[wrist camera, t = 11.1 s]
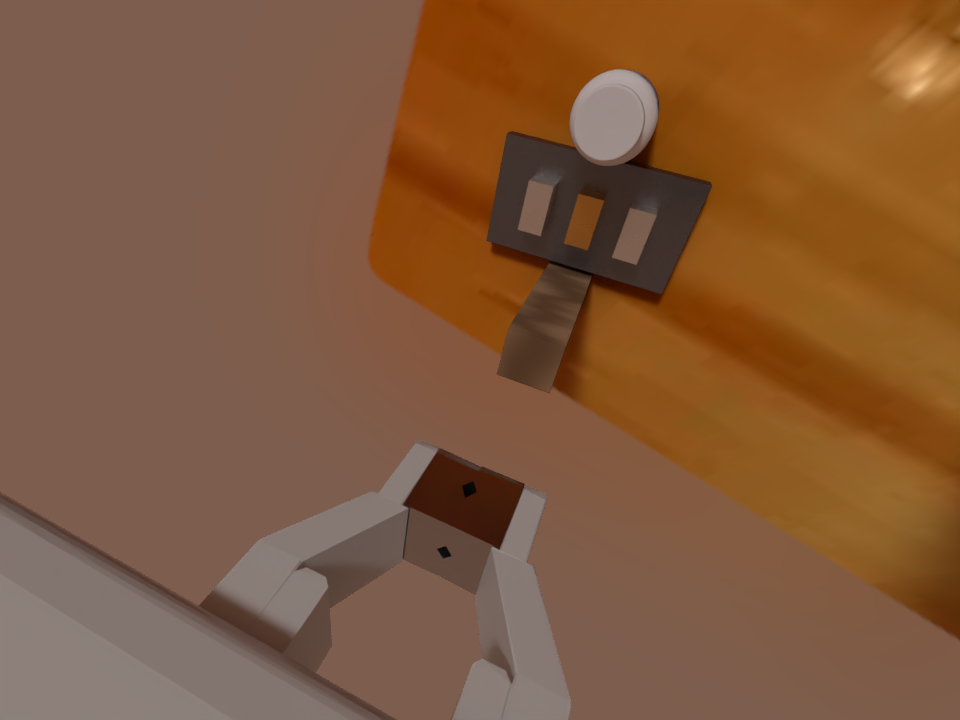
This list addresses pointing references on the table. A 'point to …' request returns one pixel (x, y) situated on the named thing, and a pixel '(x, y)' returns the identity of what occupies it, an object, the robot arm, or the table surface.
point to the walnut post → (544, 327)
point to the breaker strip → (620, 194)
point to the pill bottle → (614, 117)
